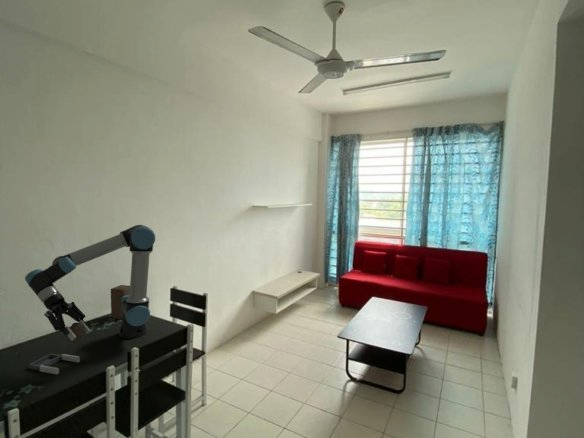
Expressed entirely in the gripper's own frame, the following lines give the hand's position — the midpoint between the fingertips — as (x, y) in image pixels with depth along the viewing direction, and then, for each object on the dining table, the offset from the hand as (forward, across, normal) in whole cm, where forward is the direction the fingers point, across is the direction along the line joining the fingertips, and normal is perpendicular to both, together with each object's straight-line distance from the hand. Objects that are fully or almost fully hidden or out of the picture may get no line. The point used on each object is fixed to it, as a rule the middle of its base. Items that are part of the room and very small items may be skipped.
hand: (81, 335), depth 147 cm
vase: (0, 0, -5) cm, 5 cm away
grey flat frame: (-3, 0, -26) cm, 27 cm away
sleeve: (+3, 0, -20) cm, 21 cm away
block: (-10, -60, -34) cm, 70 cm away
